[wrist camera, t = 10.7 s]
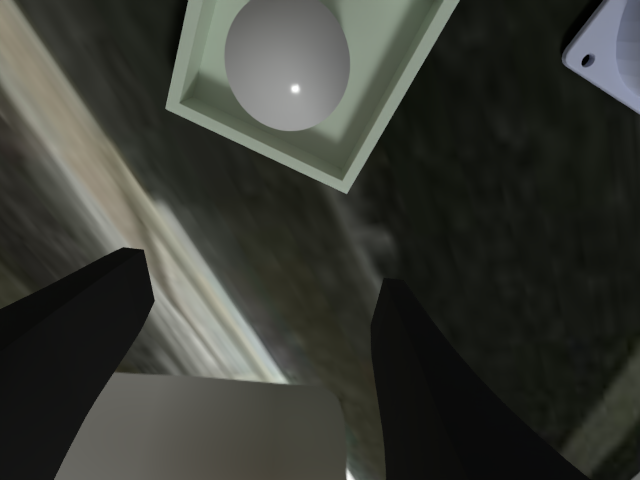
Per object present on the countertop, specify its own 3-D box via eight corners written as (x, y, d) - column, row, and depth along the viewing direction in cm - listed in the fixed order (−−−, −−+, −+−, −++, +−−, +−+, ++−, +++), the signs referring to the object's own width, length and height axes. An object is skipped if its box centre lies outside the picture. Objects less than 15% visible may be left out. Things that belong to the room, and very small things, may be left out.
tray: (450, -8, 14) (466, -12, 12) (345, 178, 18) (346, 194, 16) (241, -144, 12) (224, -172, 10) (183, 100, 16) (165, 108, 15)
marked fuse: (358, 28, 14) (373, 29, 9) (323, 110, 16) (319, 149, 11) (278, -15, 13) (245, -40, 8) (251, 75, 15) (211, 100, 10)
